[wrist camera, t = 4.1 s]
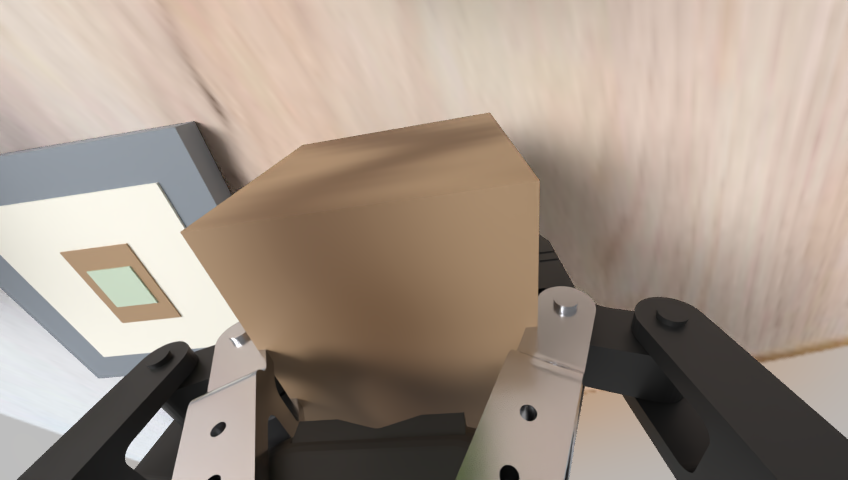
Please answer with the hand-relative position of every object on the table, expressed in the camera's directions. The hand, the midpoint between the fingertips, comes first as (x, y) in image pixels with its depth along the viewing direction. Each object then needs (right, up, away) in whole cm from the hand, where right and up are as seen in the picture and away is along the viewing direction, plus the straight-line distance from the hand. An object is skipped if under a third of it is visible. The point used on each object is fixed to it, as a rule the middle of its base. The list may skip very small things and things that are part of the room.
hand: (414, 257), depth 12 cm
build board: (-15, -1, +6) cm, 16 cm away
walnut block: (0, 0, +1) cm, 1 cm away
